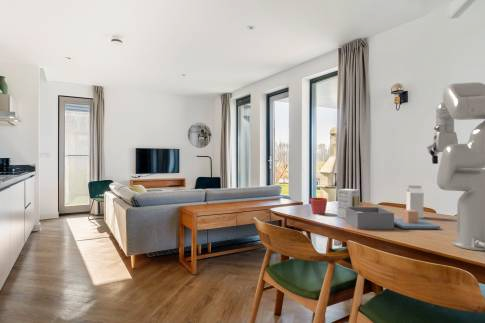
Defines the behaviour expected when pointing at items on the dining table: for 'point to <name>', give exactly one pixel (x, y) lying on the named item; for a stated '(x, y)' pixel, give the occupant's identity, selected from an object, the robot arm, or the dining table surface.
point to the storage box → (369, 218)
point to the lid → (413, 221)
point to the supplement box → (347, 200)
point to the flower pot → (318, 205)
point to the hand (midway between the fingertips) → (444, 163)
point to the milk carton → (415, 199)
